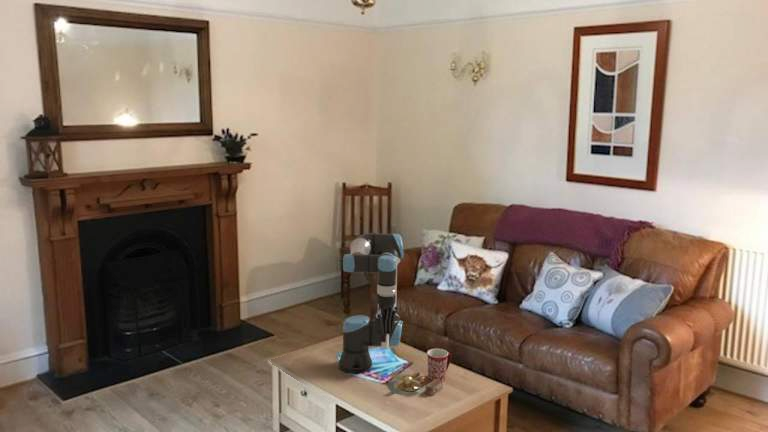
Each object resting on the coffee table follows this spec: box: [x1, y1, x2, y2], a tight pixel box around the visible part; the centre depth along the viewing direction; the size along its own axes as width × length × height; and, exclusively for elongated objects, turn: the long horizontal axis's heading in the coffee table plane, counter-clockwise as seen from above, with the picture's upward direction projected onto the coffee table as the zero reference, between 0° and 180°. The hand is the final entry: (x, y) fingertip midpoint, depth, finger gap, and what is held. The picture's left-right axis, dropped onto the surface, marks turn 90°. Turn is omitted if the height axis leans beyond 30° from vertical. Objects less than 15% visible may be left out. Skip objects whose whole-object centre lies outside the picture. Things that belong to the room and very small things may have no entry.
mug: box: [426, 348, 452, 383], centre depth 277 cm, size 13×9×14 cm
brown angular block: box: [425, 379, 443, 397], centre depth 265 cm, size 4×8×5 cm, turn 142°
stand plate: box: [387, 378, 426, 397], centre depth 269 cm, size 16×16×2 cm
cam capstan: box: [390, 371, 425, 392], centre depth 268 cm, size 16×16×7 cm
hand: (385, 348), depth 262 cm, fingers closed
